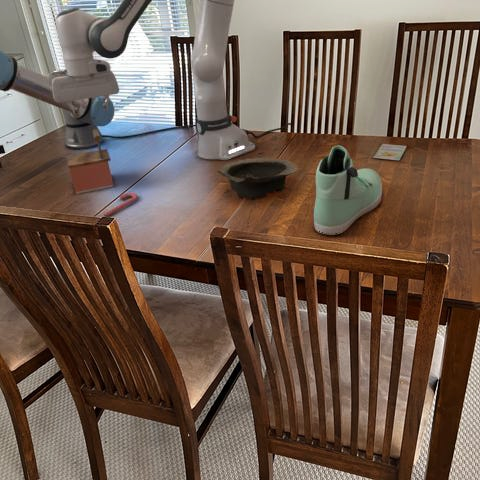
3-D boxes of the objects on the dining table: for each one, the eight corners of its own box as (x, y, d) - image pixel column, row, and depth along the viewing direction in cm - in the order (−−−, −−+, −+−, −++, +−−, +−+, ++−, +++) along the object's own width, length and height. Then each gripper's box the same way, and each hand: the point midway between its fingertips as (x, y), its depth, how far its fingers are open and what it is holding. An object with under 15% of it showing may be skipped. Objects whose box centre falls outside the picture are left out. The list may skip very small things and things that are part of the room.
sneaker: (389, 187, 148) (396, 123, 138) (356, 242, 123) (361, 168, 112) (346, 181, 154) (350, 119, 144) (306, 232, 129) (307, 161, 118)
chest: (110, 176, 172) (105, 151, 167) (113, 186, 164) (108, 161, 159) (74, 183, 169) (68, 158, 164) (76, 194, 161) (69, 168, 156)
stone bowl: (243, 213, 140) (240, 183, 136) (209, 189, 160) (205, 162, 156) (313, 190, 149) (312, 161, 144) (272, 170, 169) (270, 144, 165)
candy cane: (93, 214, 147) (92, 209, 146) (129, 194, 157) (128, 190, 156) (106, 218, 144) (105, 214, 143) (142, 198, 154) (141, 194, 153)
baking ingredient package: (373, 156, 168) (382, 143, 180) (373, 158, 168) (382, 144, 180) (399, 159, 165) (407, 145, 176) (399, 160, 165) (406, 146, 176)
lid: (107, 151, 167) (102, 127, 163) (110, 160, 159) (105, 135, 155) (68, 158, 164) (61, 133, 160) (69, 168, 156) (62, 142, 152)
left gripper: (-60, 165, 159) (8, 154, 164) (-76, 195, 139) (3, 181, 144) (-69, 143, 155) (1, 133, 160) (-86, 170, 135) (-6, 157, 140)
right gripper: (45, 74, 142) (58, 119, 150) (114, 64, 147) (123, 109, 155) (45, 70, 148) (57, 114, 155) (112, 61, 153) (121, 104, 160)
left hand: (2, 155), depth 152 cm, fingers open, 13 cm apart
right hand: (91, 111), depth 155 cm, fingers open, 8 cm apart
